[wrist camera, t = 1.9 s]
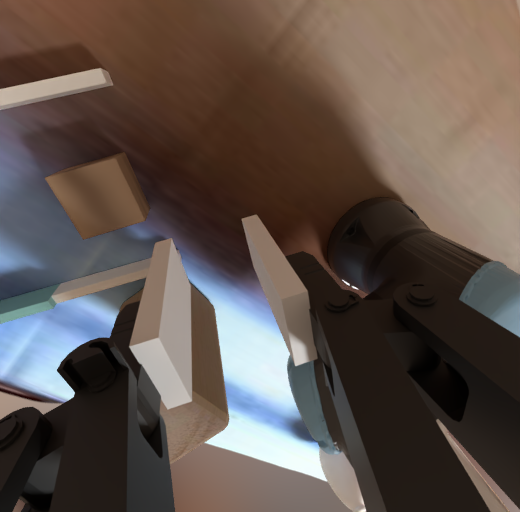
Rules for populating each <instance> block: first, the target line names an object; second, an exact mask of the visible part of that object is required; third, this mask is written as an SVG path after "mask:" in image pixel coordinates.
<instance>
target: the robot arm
mask: <svg viewBox="0 0 520 512" xmlns="http://www.w3.org/2000/svg"><path fill="white" fill-rule="evenodd" d="M242 223H243V227H244V231H245V235H246V239H247V243H248V247H249V251H250V255H251V259H252V263H253V267H254V269H255V272H256V274H257V276H258V279H259V281H260V283H261V286H262V288H263V291H264V293H265V295H266V298H267V300H268V302H269V305H270V307H271V310H272V312H273V314H274V317H275V319H276V322H277V324H278V326H279V329H280V331H281V333H282V336H283V338H284V341H285V343H286V345H287V348H288V350H289V352H290V356H289V359H288V364H287V370H288V378H289V383H290V387H291V391H292V394H293V397H294V400H295V403H296V405H297V408H298V410H299V413H300V415H301V417H302V419H303V421H304V423H305V425H306V427H307V429H308V431H309V432H310V434H311V436H312V437H313V439H314V440H315V441H317V442H318V445H319V447H320V448H321V449H322V450H323V451H324V452H325V453H327V454H329V455H333V454H336V455H338V454H340V453H341V452H343V453H344V454H345V456H346V458H347V459H348V461H349V463H350V464H351V466H352V467H353V469H354V471H355V475H356V478H357V481H358V485H359V488H360V491H361V495H362V498H363V501H364V504H365V508H366V511H367V512H510V511H509V510H508V508H507V507H506V506H505V505H504V503H503V502H502V501H501V500H500V498H499V497H498V496H497V495H496V493H495V492H494V491H493V490H492V488H491V487H490V486H489V485H488V483H487V482H486V481H485V479H484V478H483V477H482V476H481V474H480V473H479V472H478V471H477V469H476V468H475V467H474V466H473V464H472V463H471V462H470V461H469V459H468V458H467V457H466V456H465V454H464V453H463V452H462V451H461V449H460V448H459V447H458V446H457V444H456V443H455V442H454V440H453V439H452V438H451V437H450V435H449V434H448V432H447V429H448V430H449V432H450V433H451V434H452V435H453V436H454V437H455V438H456V439H457V440H458V441H459V443H461V445H462V446H463V447H464V448H465V449H466V450H467V451H468V453H469V454H470V455H471V456H472V457H473V458H474V459H475V460H476V461H477V462H478V464H479V465H480V466H481V467H482V468H483V469H484V470H485V471H486V473H487V474H488V475H489V476H490V477H491V478H492V479H493V480H494V481H495V482H496V484H497V485H498V486H499V487H500V488H501V489H502V490H503V491H504V492H505V494H506V495H507V496H508V497H509V498H510V499H511V500H512V501H513V502H514V503H515V505H516V506H517V507H518V508H519V509H520V275H519V274H518V273H516V272H514V271H513V270H511V269H509V268H507V266H506V265H504V264H503V263H501V262H499V261H493V260H491V259H489V258H487V257H485V256H483V255H481V254H479V253H477V252H475V251H472V250H470V249H468V248H466V247H464V246H462V245H460V244H458V243H456V242H454V241H452V240H449V239H447V238H445V237H443V236H441V235H439V234H437V233H435V232H433V231H431V230H430V229H429V228H428V227H427V225H426V224H425V223H424V222H423V221H422V220H421V219H420V218H419V216H418V215H417V214H416V212H415V211H414V210H413V209H412V208H411V207H409V206H408V205H406V204H404V203H402V202H399V201H397V200H395V199H392V198H386V197H379V198H373V199H369V200H366V201H364V202H362V203H360V204H358V205H356V206H355V207H353V208H352V209H350V210H349V211H348V212H347V213H346V214H345V215H344V216H343V217H342V218H341V219H340V220H339V222H338V223H337V225H336V226H335V228H334V230H333V232H332V234H331V236H330V239H329V243H328V250H327V255H328V261H329V265H330V267H331V269H332V270H333V272H334V273H335V274H336V275H337V276H338V277H339V279H340V280H341V281H342V282H344V283H345V284H347V285H348V286H350V287H353V288H355V289H360V290H362V291H364V292H365V293H367V294H369V295H367V296H366V297H365V298H363V299H362V298H361V297H360V296H359V295H358V294H356V293H354V292H352V291H349V290H343V289H341V287H340V286H339V285H338V284H337V283H336V282H335V280H334V279H333V278H332V277H331V276H330V275H329V274H328V272H327V271H326V270H324V268H323V267H322V265H321V264H319V262H318V261H317V260H316V259H315V257H314V256H313V255H310V254H308V253H306V252H304V251H302V252H299V253H295V254H292V255H289V256H284V255H283V253H282V252H281V250H280V249H279V247H278V246H277V244H276V243H275V241H274V240H273V238H272V237H271V235H270V234H269V232H268V231H267V229H266V228H265V226H264V225H263V223H262V222H261V220H260V219H259V217H258V216H257V215H253V216H249V217H246V218H242ZM57 371H58V373H59V374H60V375H61V376H62V377H63V378H64V380H65V381H66V382H67V383H68V384H69V386H70V387H71V388H72V389H73V390H74V392H75V395H74V397H73V398H72V399H70V400H69V401H67V402H65V403H63V404H62V405H60V406H58V407H56V408H55V409H53V410H51V411H49V412H48V413H46V414H44V415H43V414H42V413H41V412H40V411H39V410H37V409H36V408H34V407H25V408H22V409H19V410H17V411H14V412H12V413H10V414H9V415H7V416H6V417H4V418H2V419H1V420H0V512H12V511H13V509H14V507H15V505H16V503H17V501H18V499H20V500H22V501H23V502H24V503H25V505H24V508H23V509H22V511H21V512H175V507H174V498H173V489H172V479H171V470H170V461H169V452H168V442H167V433H166V425H165V422H164V419H163V417H162V416H161V414H160V403H161V400H162V401H163V403H164V405H165V406H166V408H167V409H171V408H174V407H177V406H180V405H183V404H185V403H188V402H191V401H192V352H191V285H190V283H189V280H188V278H187V275H186V273H185V270H184V268H183V265H182V263H181V260H180V258H179V255H178V253H177V250H176V248H175V245H174V243H173V240H172V238H170V239H167V240H163V241H160V242H156V243H155V246H154V250H153V254H152V258H151V262H150V266H149V270H148V274H147V278H146V282H145V286H144V290H143V294H142V298H141V300H140V301H137V302H134V303H130V304H127V305H126V306H125V307H124V308H123V309H122V310H121V312H120V313H119V314H118V315H117V318H116V321H115V324H114V327H113V330H112V333H111V336H110V338H97V339H94V340H90V341H88V342H86V343H84V344H82V345H80V346H79V347H77V348H76V349H75V350H73V351H72V352H71V353H69V354H68V355H67V357H66V358H65V359H64V360H63V361H62V362H61V364H60V366H59V367H58V369H57Z"/></svg>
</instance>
